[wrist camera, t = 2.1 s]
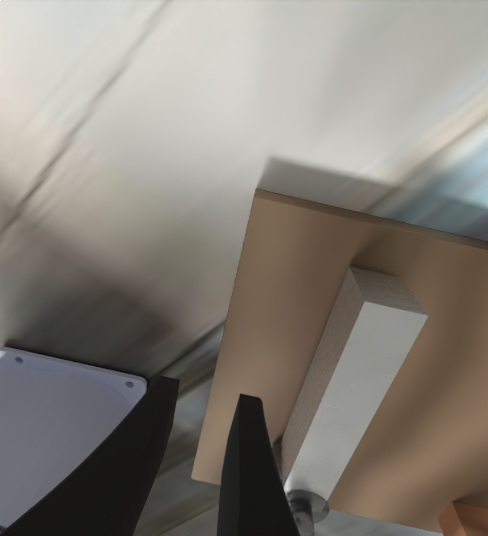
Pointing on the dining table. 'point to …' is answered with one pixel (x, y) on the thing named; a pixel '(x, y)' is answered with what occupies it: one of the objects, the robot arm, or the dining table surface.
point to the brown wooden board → (406, 380)
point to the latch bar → (345, 387)
